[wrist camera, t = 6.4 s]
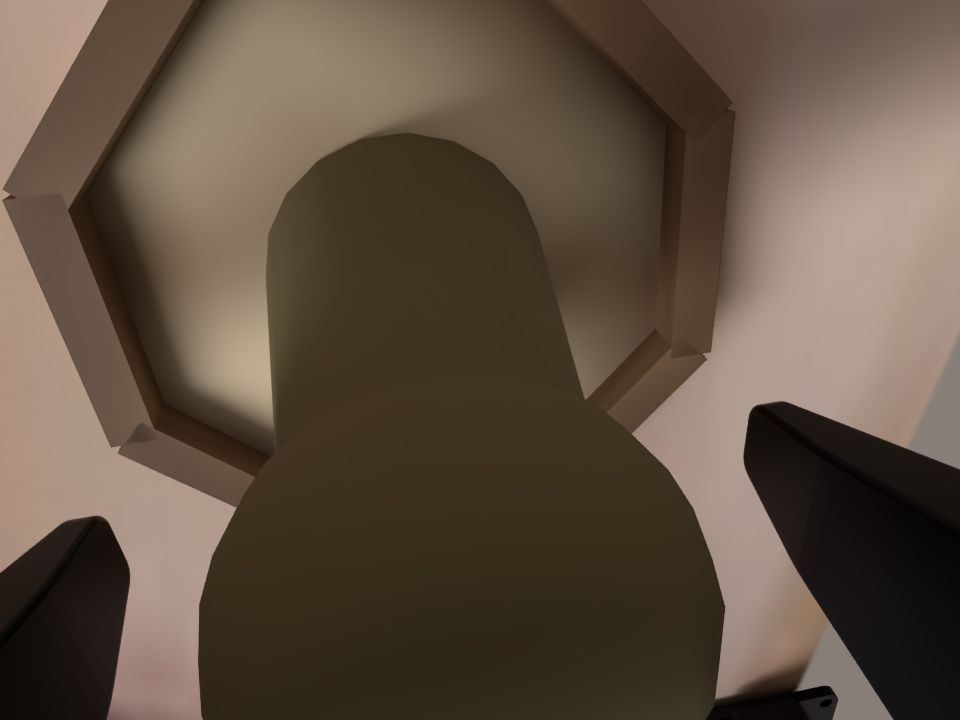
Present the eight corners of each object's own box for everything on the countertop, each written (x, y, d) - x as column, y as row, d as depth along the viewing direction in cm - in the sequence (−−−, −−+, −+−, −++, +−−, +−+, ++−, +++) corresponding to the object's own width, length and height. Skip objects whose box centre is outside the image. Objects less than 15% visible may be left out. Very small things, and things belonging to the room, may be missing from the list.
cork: (211, 305, 15) (-46, 909, 5) (371, 66, 13) (412, 342, 3) (434, 428, 17) (527, 984, 8) (594, 243, 15) (969, 681, 6)
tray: (676, 452, 20) (700, 488, 18) (180, 538, 18) (166, 584, 17) (722, -140, 13) (767, -154, 11) (-72, -77, 11) (-130, -84, 10)
